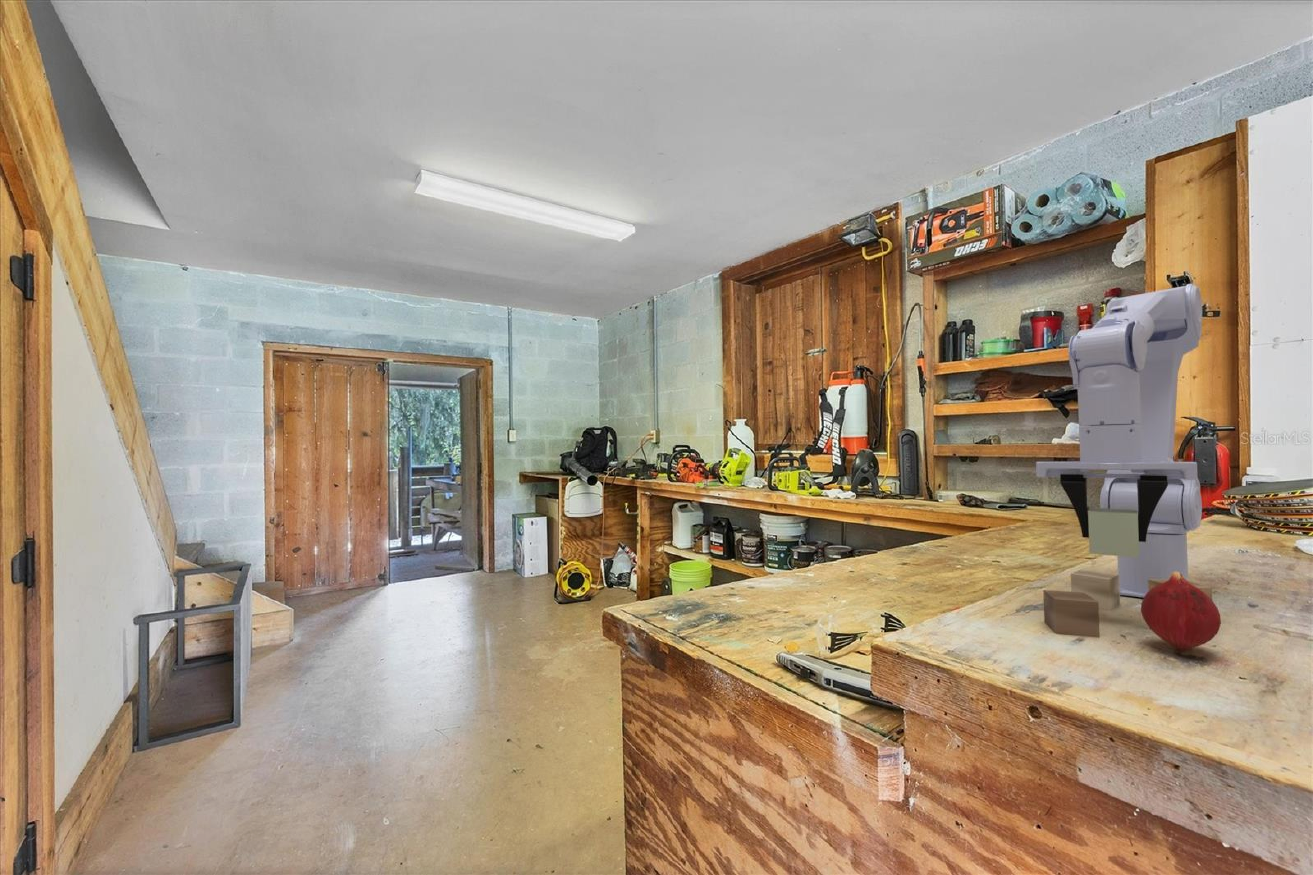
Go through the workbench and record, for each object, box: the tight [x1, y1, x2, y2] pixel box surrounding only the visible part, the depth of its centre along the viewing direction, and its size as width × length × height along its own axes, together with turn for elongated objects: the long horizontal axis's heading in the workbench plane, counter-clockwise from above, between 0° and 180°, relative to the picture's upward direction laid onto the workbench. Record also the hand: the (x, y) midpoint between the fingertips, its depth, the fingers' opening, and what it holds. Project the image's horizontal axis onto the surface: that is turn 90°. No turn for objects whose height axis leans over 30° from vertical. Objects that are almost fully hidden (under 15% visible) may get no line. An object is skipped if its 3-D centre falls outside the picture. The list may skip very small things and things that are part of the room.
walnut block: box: [1042, 589, 1101, 639], centre depth 61 cm, size 4×4×4 cm
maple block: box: [1070, 568, 1121, 611], centre depth 71 cm, size 4×4×4 cm
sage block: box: [1087, 507, 1139, 558], centre depth 64 cm, size 4×4×5 cm
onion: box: [1140, 571, 1222, 652], centre depth 55 cm, size 6×6×8 cm
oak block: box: [1148, 579, 1213, 601], centre depth 65 cm, size 4×4×4 cm
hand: (1113, 538), depth 64 cm, fingers closed on sage block, 4 cm apart
